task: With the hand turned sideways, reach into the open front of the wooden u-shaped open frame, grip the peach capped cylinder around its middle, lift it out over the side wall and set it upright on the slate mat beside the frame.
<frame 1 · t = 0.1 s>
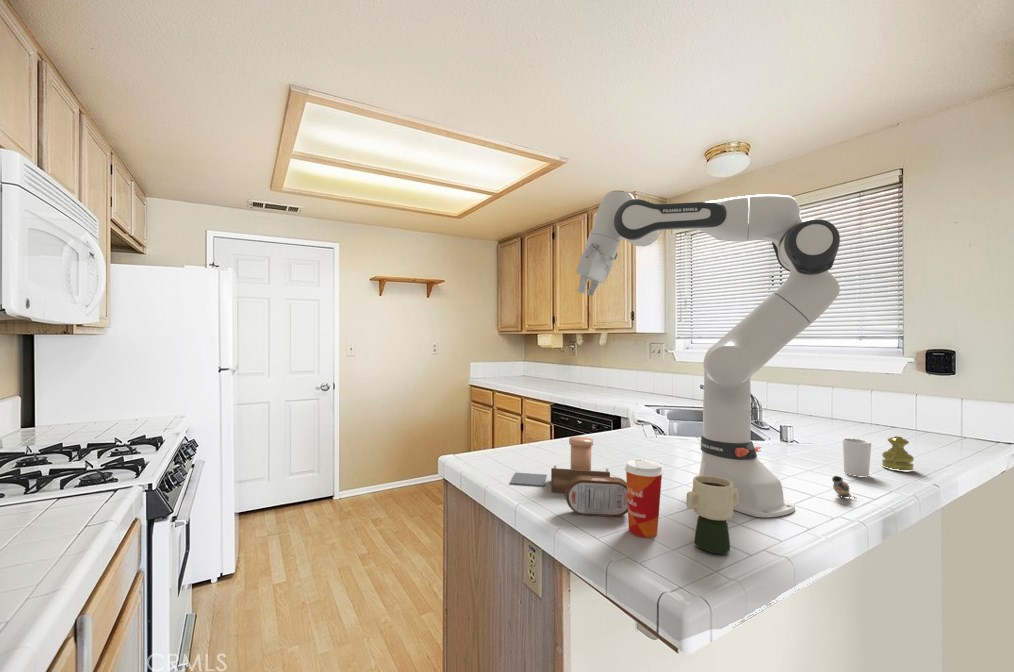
hand: (585, 294, 131), 52 cm above the table, tool tilted 20°, fingers open, 8 cm apart
paper cup: (643, 532, 93), on the table
gold chess piece: (897, 469, 139), on the table
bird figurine: (840, 499, 114), on the table
tin: (598, 515, 102), on the table
wooden u-shaped open frame: (580, 483, 123), on the table
peach capped cylinder: (580, 483, 123), on the table
slate mat: (529, 480, 125), on the table
white cup: (856, 475, 134), on the table
character mug: (711, 549, 86), on the table
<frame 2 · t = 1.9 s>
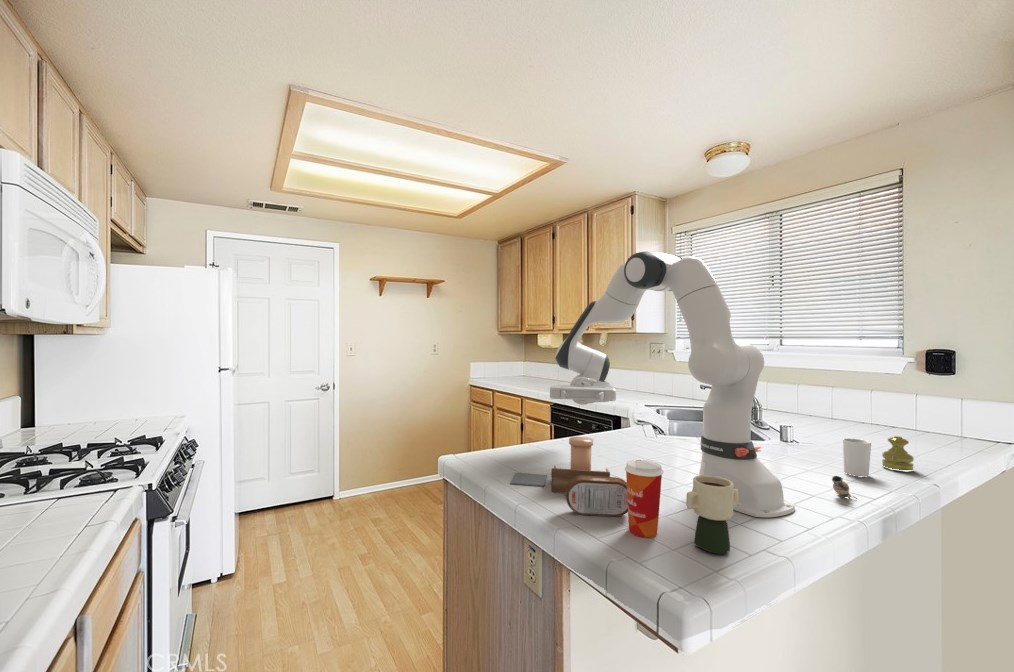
hand: (582, 396, 134), 22 cm above the table, tool horizontal, fingers open, 8 cm apart
nothing on the table moved.
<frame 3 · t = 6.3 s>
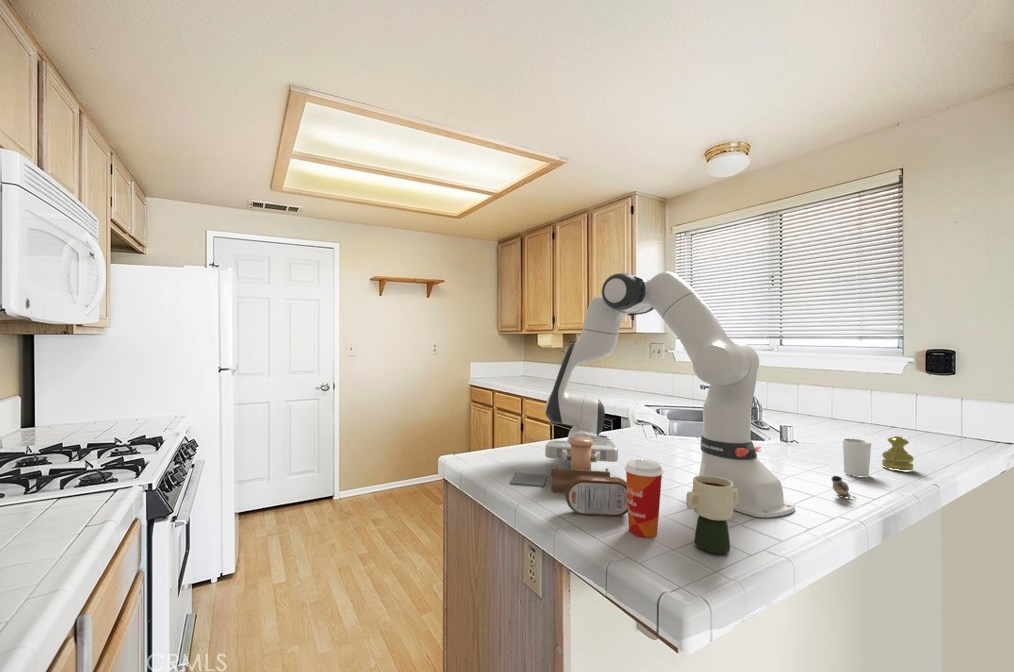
hand: (580, 458, 122), 7 cm above the table, tool horizontal, fingers closed on peach capped cylinder, 5 cm apart
peach capped cylinder: (580, 483, 123), on the table, touching gripper
everything else where it was.
when the fingers open (8 cm above the table, at t = 11.7 s): peach capped cylinder stays where it is, resting on slate mat.
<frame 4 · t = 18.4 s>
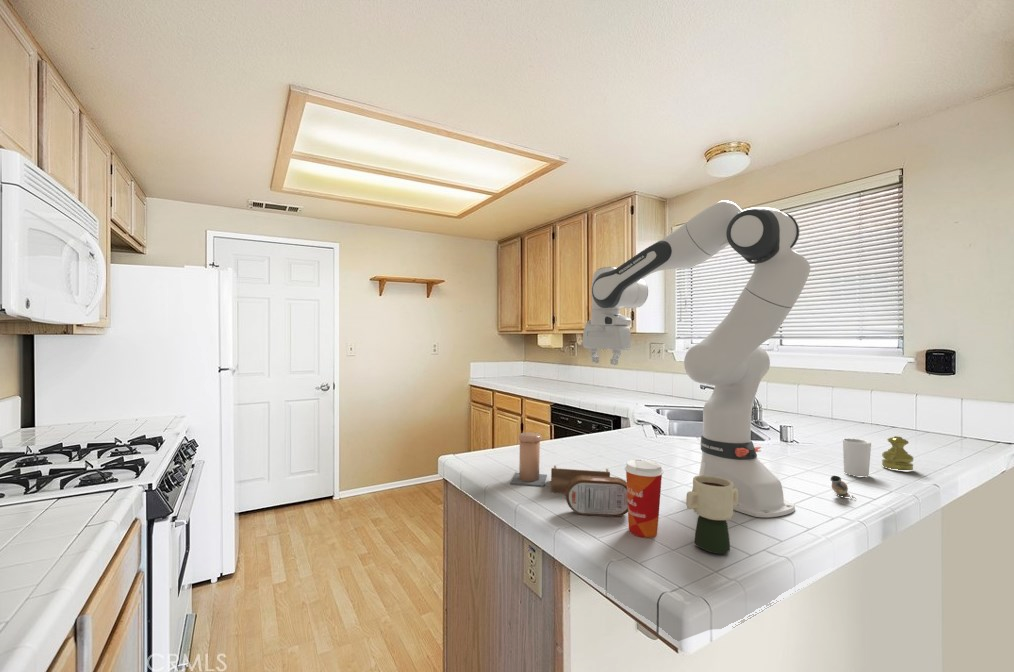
hand: (604, 363, 143), 31 cm above the table, tool pointing down, fingers open, 8 cm apart
peach capped cylinder: (529, 478, 125), resting on slate mat
everything else where it was.
at the end: peach capped cylinder 0.0 cm from the target spot, resting on slate mat; peach capped cylinder tilted 0°; the gripper is holding nothing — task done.
